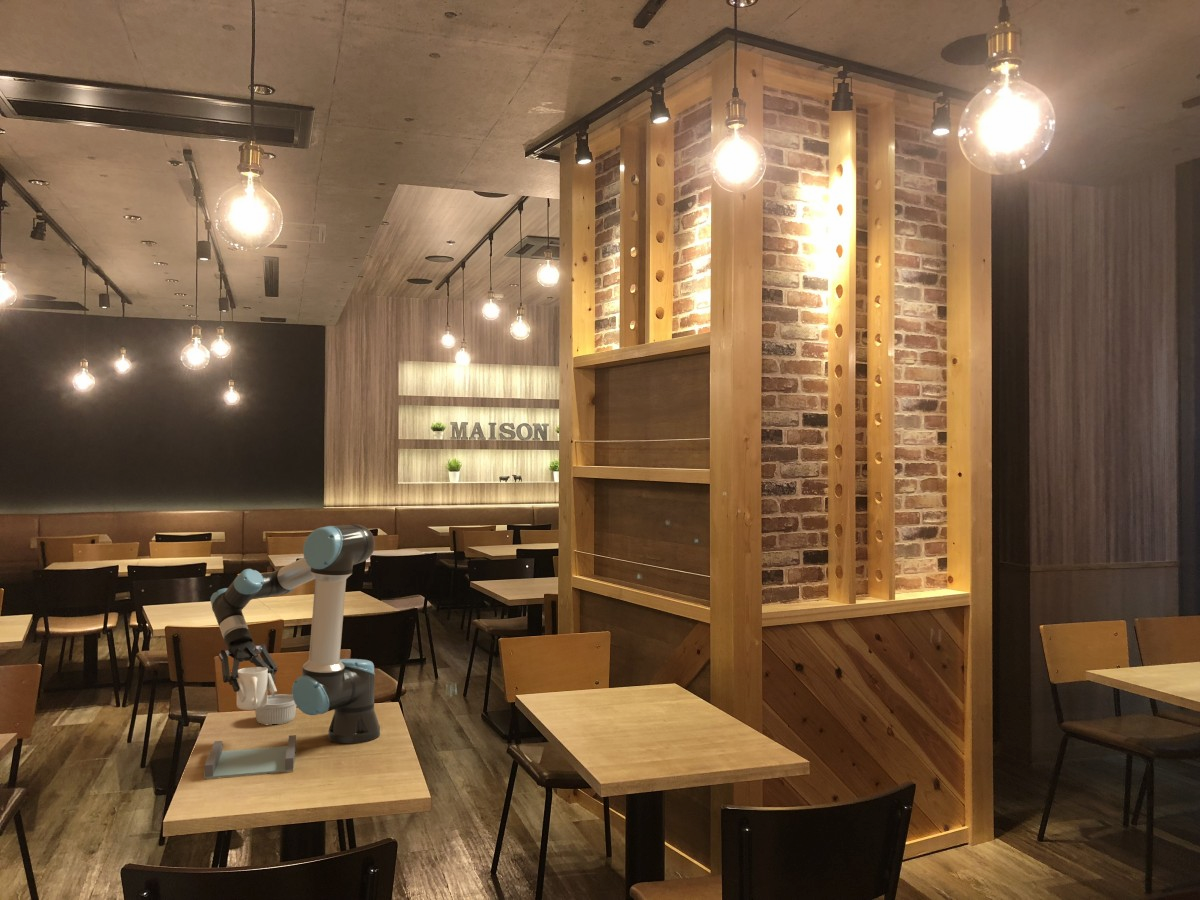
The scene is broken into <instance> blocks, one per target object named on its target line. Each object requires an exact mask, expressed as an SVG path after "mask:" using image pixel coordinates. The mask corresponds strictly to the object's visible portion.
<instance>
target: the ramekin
mask: <svg viewBox="0 0 1200 900" xmlns="http://www.w3.org/2000/svg"><path fill="white" fill-rule="evenodd" d="M254 712H255V718H256V721H257V723H258V724H260V723H261V724H260V725H262V724H268V725H267V726H273V725H272V724H280V725H283V724H282V723H285V724H287V723H286V722H288V723H290V722H289V721H291V720H292V721H293V720H294V719H295V717H296V712H297V705H296V704H295V702H294V699H293V695H292V694H286V693H285V694H281V693H279V694H275V696H273V697H272V696H271V694H270V695H268V701H267V705H266V706H265V707H262V708H259V709H254ZM292 721H291V722H292Z"/></svg>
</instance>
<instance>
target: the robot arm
mask: <svg viewBox="0 0 1200 900" xmlns="http://www.w3.org/2000/svg"><path fill="white" fill-rule="evenodd" d="M375 547H376V540H375V536H374V535H373V533H372V532H371V530H370V529H369V528H367V527H366V526H364V525H361V524H342V525H326V526H323V527H322V526H321V527H318V528H316V529H314V530H312V532H310V533H309V534H308V535H307V537H306V539H305V541H304V543H303V548H302V549H303V550H302V551H303V552H302V553H303V557H302V558H300V559H298V560H295V561H293V562H291V563H289V564H286V565H285V566H283V567H281V568H278V569H276V570H274V571H272V572H264V573H260V571H258V570H256V569H252V568H246V569H243V570H242V571H241V572H240V573H239V574H238V575H237V576H236V577H235V578H234V580H233V581H232V582H231V583H230V585H229V586H228V587H224V588H221V589H218V590H217V591H216V592H213V593H212V594H211V596H210V600H209V601H210V604H211V611H212V613H214V616H215V619H216V621H217V625H218V627H219V630H220V632H221V633H220V634H221V636H222V638H223V641H224V644H225V646H226V649H227V650H224V649H221V650H220V653H219V655H218V659H219V660H220V662H221V672H222V682H223V683H228V684H229V685H230V686H231V687H232V689H233V692H235V693H236V694H237V693H238V695H239V698H240V701H241V702H244V700H245V698H246V694H245V691H244V688H243V686H242V683H241V680H240V678H237V673H238V670H239V666H240V663H242V662H244V661H245V662H248V661H249V662H250V663H251V664H253V665H255V667H265V668H267V669H268V692H269V693H270V695H271V696H272V697H273V696H275V695H277V692H278V690H277V687H276V682H277V680H276V677H275V675H276V673H277V671H278V670H279V667H278V666H277V664H276V663H275V660H274V659H273V658H272V657H271V655H270V653H269V652H268V651H267V647H266V644H264V643H262V644H261V645H256V644H255V643H254V641H253V637H252V633H251V632H250V629H249V626H248V624H247V621H246V619H245V616H244V614H243V609H244V608H246V606H247V605H248V604H249V603H250V602H251V601H252V600H257V599H263V598H269V597H276V596H284V595H287V594H290V593H292V592H293V591H294V589H295V588H298V587H299V586H301V585H305V584H306V583H309V582H311V581H313V580H315V581H314V594H313V603H312V605H313V607H312V618H311V629H310V642H309V653H308V660H306V662H305V663H303V665H302V673H301V675H300V676H298V677H297V678H296V680H294V682H293V684H292V688H291V695H293V699H294V702H295V704H296V707H297V708H298V710H299V711H300V712H302V713H303V714H305V715H307V716H316V715H323V714H326V713H328V712H330V711H334V713H333V716H332V719H331V722H330V725H329V728H328V732H327V733H328V736H327V737H328V740H329V741H331V742H332V743H338V744H357V743H359V742H360V743H363V742H365V741H366V742H370V741H373V740H375V739H377V738H379V737H380V735H381V727H380V726H381V725H380V723H379V720H378V717H377V713H376V712H375V676H376V673H375V665H374V663H373V661H371V660H368V659H361V658H359V659H358V658H341V646H342V637H343V635H342V634H343V622H344V611H345V599H346V598H345V597H346V588H347V587H346V585H347V579H348V578H349V577H350V576H351V575H353V569H354V568H353V566H355V565H357V564H360V563H363V562H365V561H367V560H368V559H369V558H370V557H372V555H373V554H374V551H375ZM229 656H230V657H231V658H232V659H233V663H232V669H231V672H230V666H229V665H230V664H229ZM230 673H231V674H230ZM369 740H370V741H369Z"/></svg>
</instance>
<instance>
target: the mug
mask: <svg viewBox="0 0 1200 900" xmlns="http://www.w3.org/2000/svg"><path fill="white" fill-rule="evenodd" d="M237 678H240V680H241V683H242V686H243V688H244V691H245V694H246V698H245V700H244V702H241V701H240V698H239V695H238V693H237V692H236V707H237V708H238V709H240V710H251V711H253V710H255V709H259V708H262V707H265V706H266V705H267V701H268V696H269V695H268V694H269V688H268V669H267V668H265V667H257V666H249V667H248V666H247V667H243V668H240V669H239V668H238V673H237ZM237 678H236V679H237Z"/></svg>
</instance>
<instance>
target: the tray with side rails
mask: <svg viewBox="0 0 1200 900" xmlns="http://www.w3.org/2000/svg"><path fill="white" fill-rule="evenodd" d="M287 740H288V741H287V746H286V745H284V746H273V747H261V748H248V749H247V748H246V749H235V750H233V749H232V750H223V740H217V741H216V740H215V741H214V742H213V745H212V747H211V750H210V752H209V753H208V757H207V759H206V762H205V764H204V780H211V779H210V778H214V779H220V778H219V777H225V778H232V777H231V776H237V777H246V776H245V775H248V776H257V775H256V774H260V775H268V774H267V773H271V774H279V773H278V772H283V773H288V772H287V771H293V772H294V769H293V768H295V761H294V760H296V753H295V752H296V751H297V735H296V734H293V735H292V734H291V735H288V739H287Z"/></svg>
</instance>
